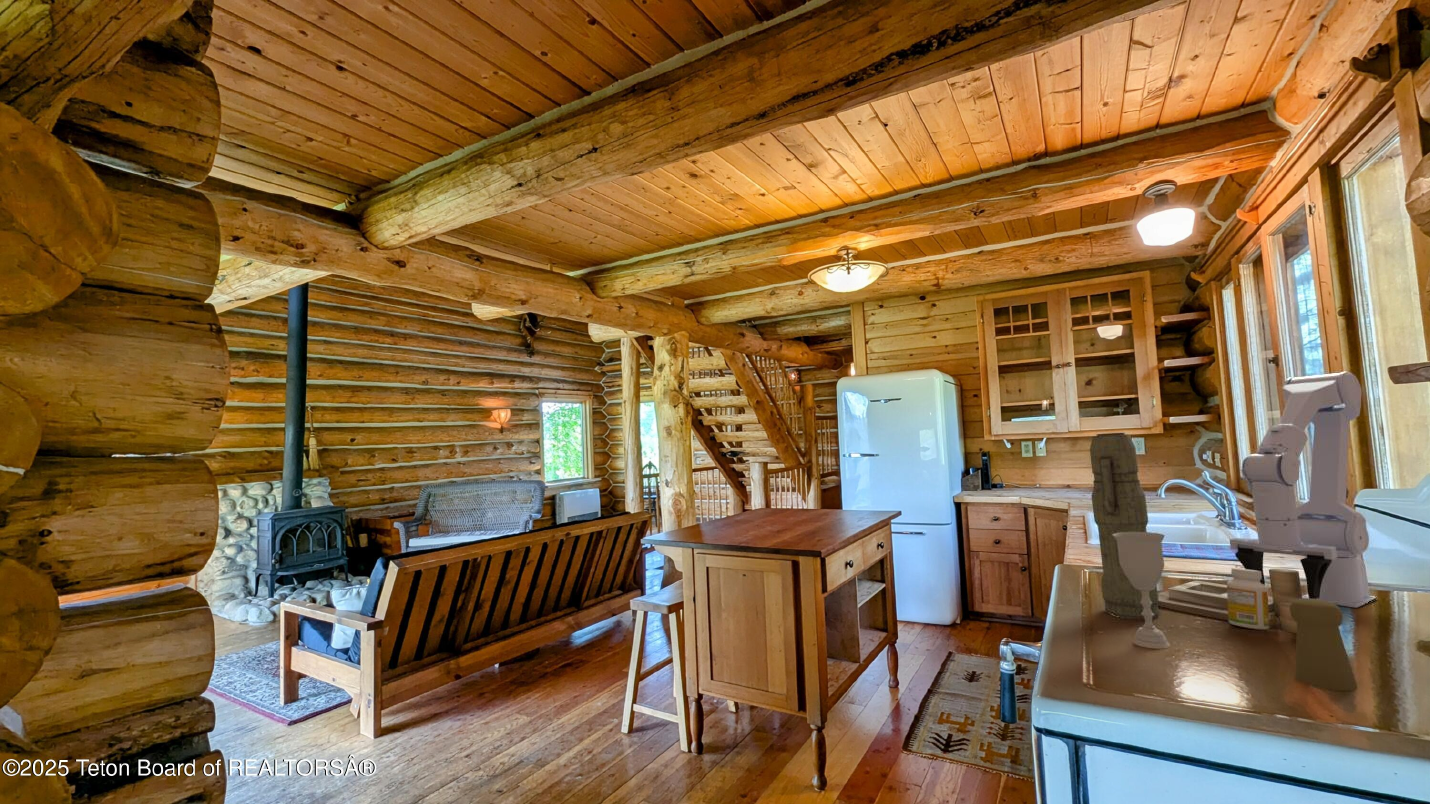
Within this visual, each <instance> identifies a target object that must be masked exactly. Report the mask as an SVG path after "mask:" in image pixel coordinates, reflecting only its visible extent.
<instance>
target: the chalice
mask: <svg viewBox="0 0 1430 804" xmlns="http://www.w3.org/2000/svg"><path fill="white" fill-rule="evenodd" d="M1113 536H1114V538H1115V539H1116V541H1117V545H1118V553H1119V562H1120V565H1121V567H1122V569H1123V571H1124V573H1125V575H1126V576H1127V578H1128V579H1129V581H1130V582H1131V584H1132V585H1133V587H1134V588H1136V589H1138V590H1141V593H1142V600H1141V602H1140V603H1141V604H1142V605H1143V607H1144V609H1143V612H1142V613H1141V614H1142V615H1143V616H1144V618H1145V620H1144V624H1143V625H1142V626H1141V627H1139V628H1138V629H1137V630H1136V633H1135V634H1134V638H1133V640H1132V643H1133V644H1134V645H1136V646H1140V647H1143V648H1146V649H1147V648H1148V649H1159V650H1160V649H1167V648H1169V647H1171V644H1170V643H1169V641H1167V638H1166V636H1165V635H1164V633H1163V631H1162V630H1160V629H1159V628H1156V626H1155V625H1154V623H1153V619H1152V616H1153V615H1154V614H1153V613H1152V611H1151V609H1150V607H1151V604H1152V602H1151V601H1150V598H1149V591H1151V590H1154V589H1155V588H1156V586H1157V587H1158V584H1159V581H1161V578H1162V575H1163V572H1164V568H1165V560H1164V553H1163V544H1162V542H1163V540H1164V538H1165V534H1163V533H1158V532H1150V531H1148V532H1120V533H1115V534H1113Z"/></svg>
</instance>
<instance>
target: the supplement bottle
mask: <svg viewBox="0 0 1430 804" xmlns="http://www.w3.org/2000/svg"><path fill="white" fill-rule="evenodd" d="M1230 571H1231V574H1230V575H1231V577H1233V578H1232V579H1231V580H1228V581H1227V582H1226V585H1227V598H1228V620H1227V621H1228V623H1229V624H1230V625H1233V626H1236V627H1237V626H1238V627H1242V628H1246V629H1251V630H1252V629H1254V630H1262V631H1264V630H1266V631H1267V630H1269V629H1270V616H1269V615H1270V614H1269V612H1270V611H1269V610H1268V596H1269V593H1268V587H1267V586H1266V584H1265V585H1264V584H1261V583H1260V580H1261V578H1262V575H1261V571H1256V570H1248V569H1245V568H1236V567H1232V568H1231V569H1230Z"/></svg>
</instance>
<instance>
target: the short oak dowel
mask: <svg viewBox="0 0 1430 804" xmlns="http://www.w3.org/2000/svg"><path fill="white" fill-rule="evenodd" d="M1290 605H1291V603H1279V604H1278V607H1279V615H1280V616H1279V619H1280V620H1279V621H1280V629H1282V630H1283V631H1286V632H1288V633H1289V632H1290V633H1295V634H1297V622H1296V621H1295V620H1294V619H1293V618H1292V616H1291V614H1290Z"/></svg>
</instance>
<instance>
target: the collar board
mask: <svg viewBox="0 0 1430 804" xmlns="http://www.w3.org/2000/svg"><path fill="white" fill-rule="evenodd" d="M1158 600H1159V602H1158V606H1161V607H1160V608H1162V607H1165V608H1164V609H1167V608H1169V609H1168V610H1174V611H1178V612H1183V613H1188V614H1194V615H1198V616H1205V617H1209V618H1214V619H1220V620H1223V621H1229V620H1228V598H1227V584H1220V583H1215V582H1207V581H1202V580H1192V581H1190V582H1186V583H1182V584H1180V585H1179V584H1178V585H1175V586H1173V587H1169V588H1167V590H1164V591H1161V592H1158ZM1268 610H1269V612H1271V611H1274V605H1273V598H1272V596H1269V595H1268Z"/></svg>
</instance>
